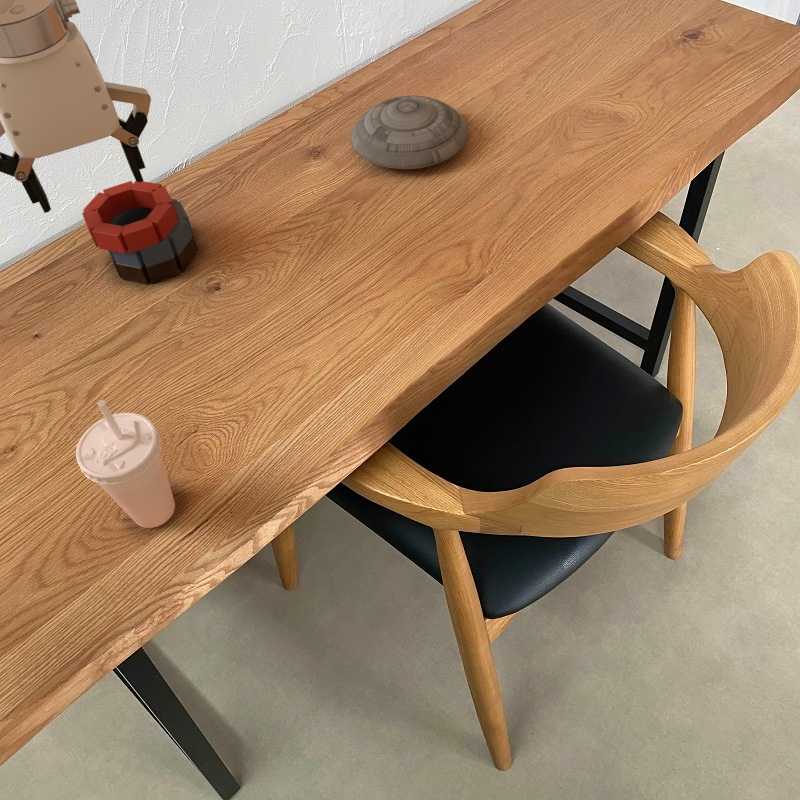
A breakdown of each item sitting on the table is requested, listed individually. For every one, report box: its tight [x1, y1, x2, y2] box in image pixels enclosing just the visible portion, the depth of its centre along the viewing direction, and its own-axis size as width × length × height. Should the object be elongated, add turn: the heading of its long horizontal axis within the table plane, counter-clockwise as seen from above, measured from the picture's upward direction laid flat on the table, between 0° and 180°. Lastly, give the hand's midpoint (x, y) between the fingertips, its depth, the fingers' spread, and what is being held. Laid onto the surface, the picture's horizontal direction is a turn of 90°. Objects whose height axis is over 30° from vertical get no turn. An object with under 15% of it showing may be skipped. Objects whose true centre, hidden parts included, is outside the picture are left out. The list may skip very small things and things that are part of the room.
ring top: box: [81, 180, 179, 253], centre depth 86 cm, size 9×9×2 cm
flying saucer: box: [350, 95, 469, 170], centre depth 100 cm, size 15×15×6 cm
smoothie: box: [75, 399, 176, 529], centre depth 64 cm, size 6×6×14 cm
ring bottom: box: [107, 233, 199, 285], centre depth 90 cm, size 9×9×2 cm
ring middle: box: [108, 198, 194, 268], centre depth 88 cm, size 9×9×2 cm
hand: (92, 190), depth 82 cm, fingers open, 9 cm apart
